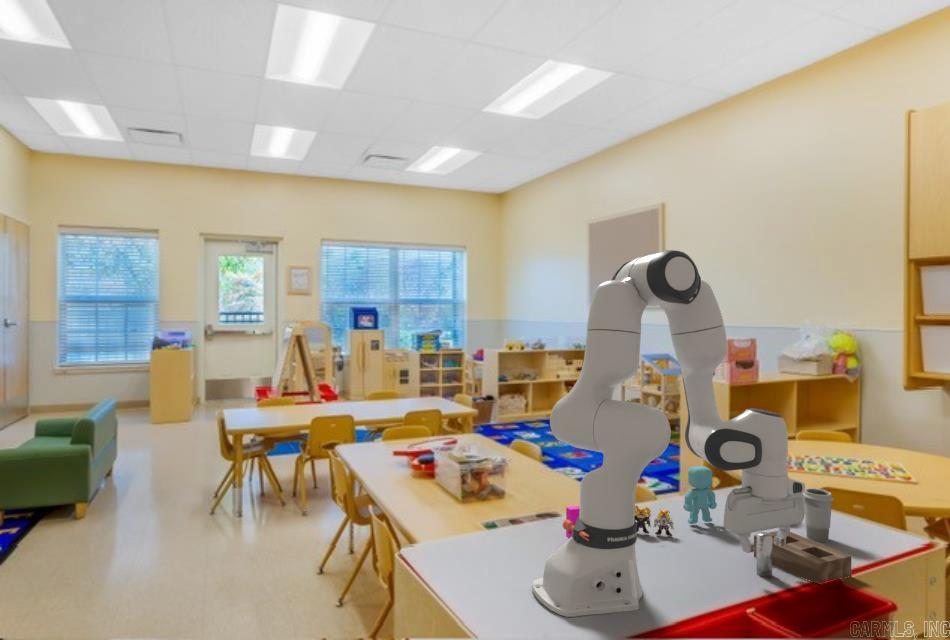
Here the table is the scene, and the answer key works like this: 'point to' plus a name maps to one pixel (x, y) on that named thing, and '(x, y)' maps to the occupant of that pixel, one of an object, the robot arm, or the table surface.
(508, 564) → the table surface
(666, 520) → the figurine set
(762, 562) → the peg
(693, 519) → the toy
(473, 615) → the table surface
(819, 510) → the cup
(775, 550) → the hole block
